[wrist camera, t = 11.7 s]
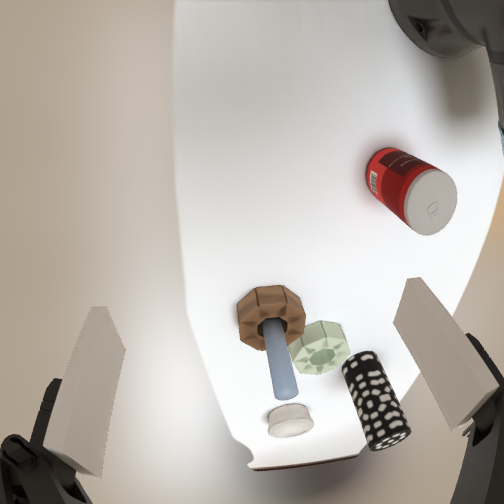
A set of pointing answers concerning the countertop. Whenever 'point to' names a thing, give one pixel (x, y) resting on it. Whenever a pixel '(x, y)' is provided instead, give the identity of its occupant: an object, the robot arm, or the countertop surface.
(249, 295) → the walnut bead
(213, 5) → the countertop surface
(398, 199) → the canned food
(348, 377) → the spotted tube
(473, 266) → the countertop surface
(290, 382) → the dowel
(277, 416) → the ramekin
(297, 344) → the sage bead
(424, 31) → the robot arm
